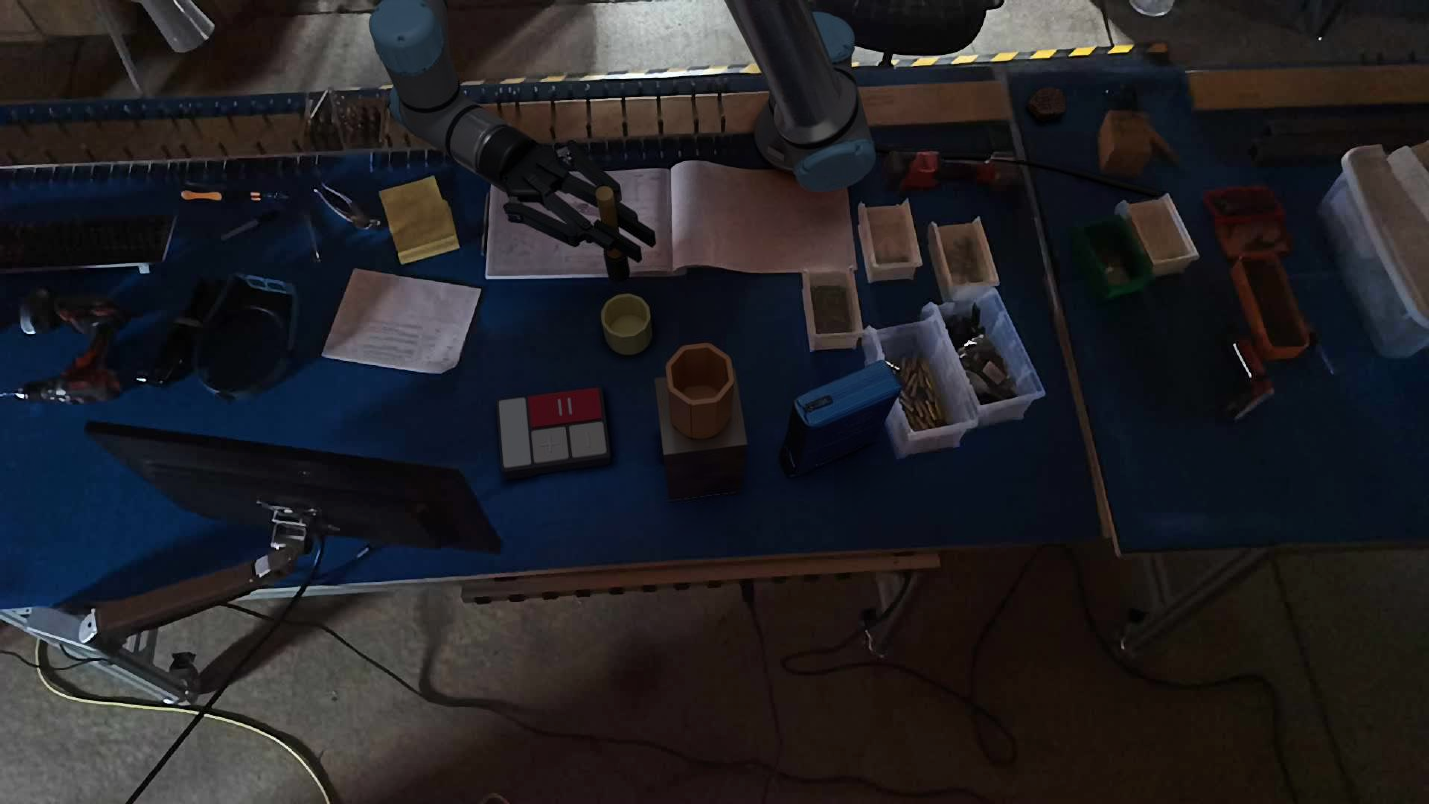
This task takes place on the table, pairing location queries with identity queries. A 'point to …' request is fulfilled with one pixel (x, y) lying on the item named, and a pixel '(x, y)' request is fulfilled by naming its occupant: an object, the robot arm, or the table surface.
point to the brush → (607, 210)
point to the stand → (702, 453)
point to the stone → (1047, 104)
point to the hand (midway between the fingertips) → (646, 247)
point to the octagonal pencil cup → (700, 390)
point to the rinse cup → (627, 324)
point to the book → (838, 418)
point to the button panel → (552, 432)
